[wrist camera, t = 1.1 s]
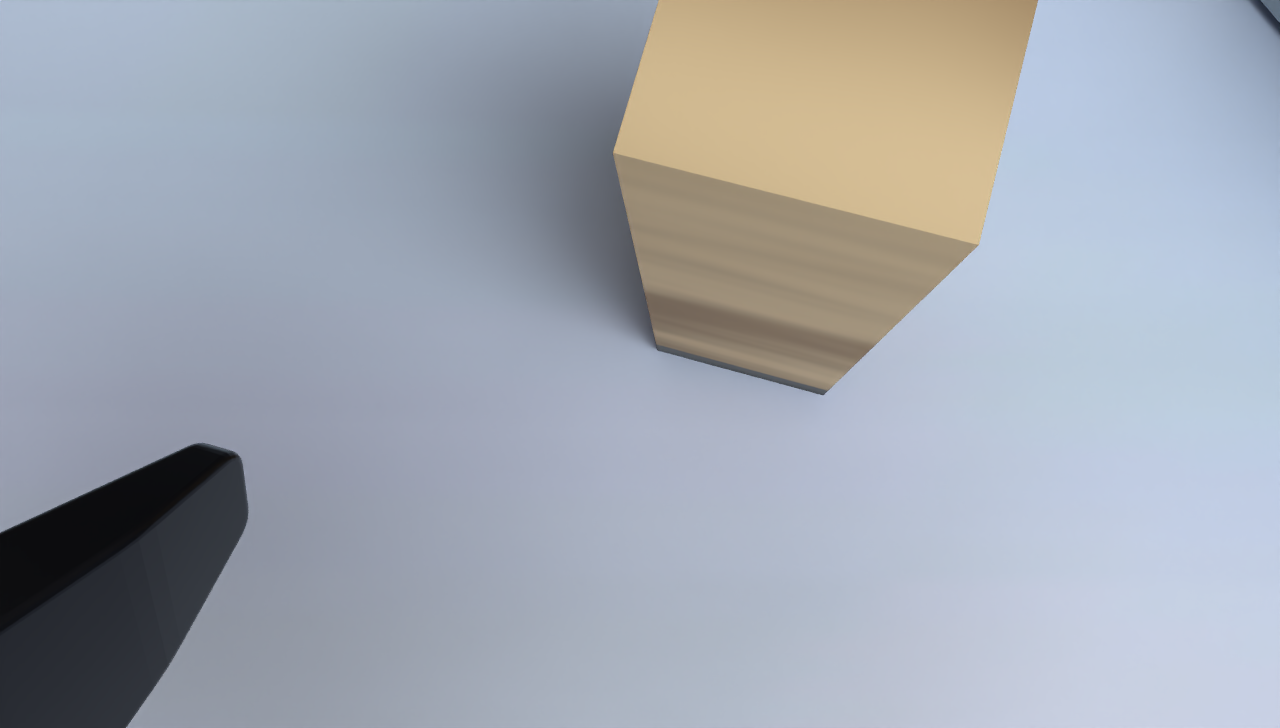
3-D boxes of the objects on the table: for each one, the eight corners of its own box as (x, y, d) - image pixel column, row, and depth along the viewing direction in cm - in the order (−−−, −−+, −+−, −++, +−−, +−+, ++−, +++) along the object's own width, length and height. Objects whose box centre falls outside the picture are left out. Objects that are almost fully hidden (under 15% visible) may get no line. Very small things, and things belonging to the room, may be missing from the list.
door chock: (823, 395, 22) (978, 245, 10) (657, 350, 23) (612, 153, 11) (875, 195, 23) (1080, -173, 11) (713, 154, 24) (733, -247, 11)
